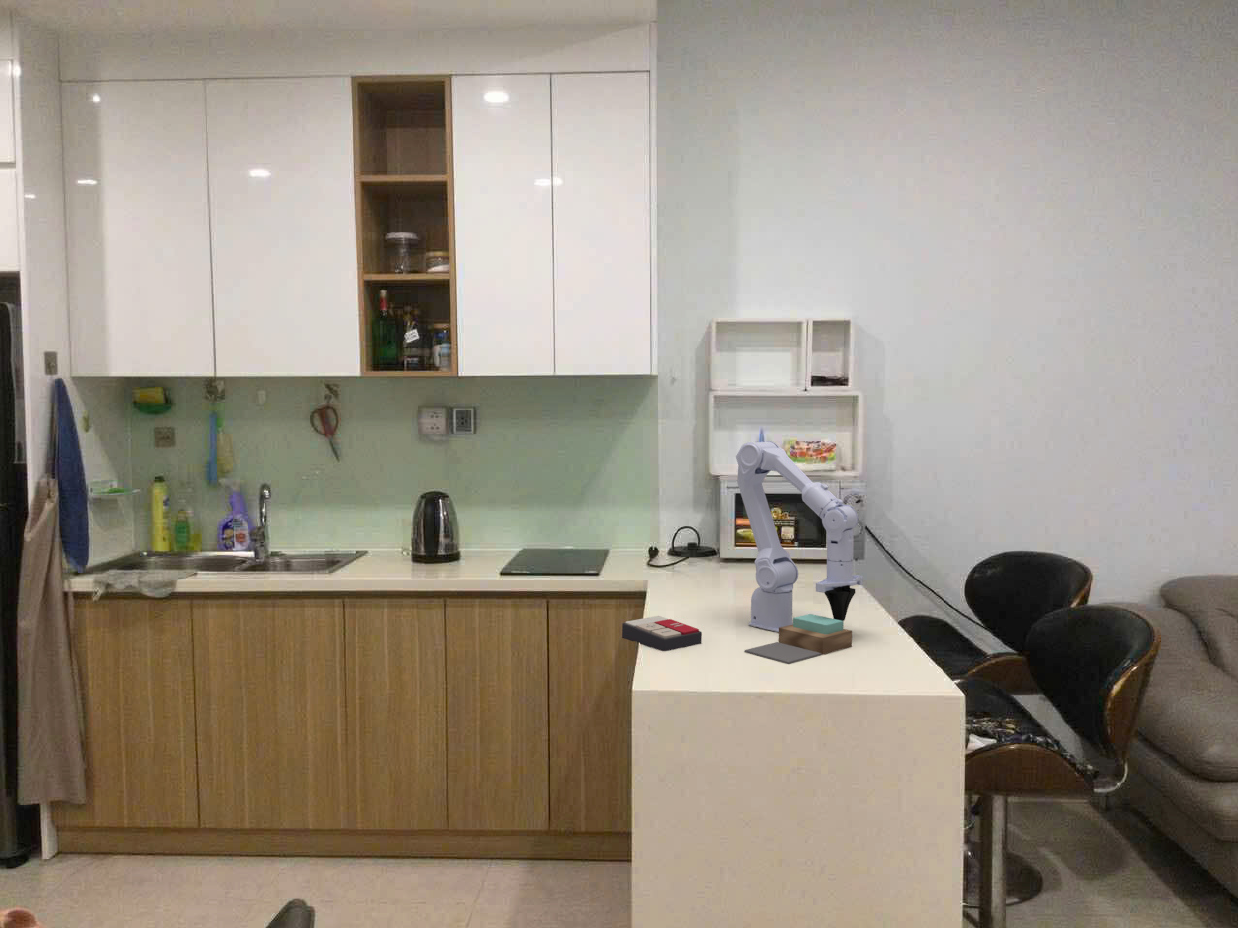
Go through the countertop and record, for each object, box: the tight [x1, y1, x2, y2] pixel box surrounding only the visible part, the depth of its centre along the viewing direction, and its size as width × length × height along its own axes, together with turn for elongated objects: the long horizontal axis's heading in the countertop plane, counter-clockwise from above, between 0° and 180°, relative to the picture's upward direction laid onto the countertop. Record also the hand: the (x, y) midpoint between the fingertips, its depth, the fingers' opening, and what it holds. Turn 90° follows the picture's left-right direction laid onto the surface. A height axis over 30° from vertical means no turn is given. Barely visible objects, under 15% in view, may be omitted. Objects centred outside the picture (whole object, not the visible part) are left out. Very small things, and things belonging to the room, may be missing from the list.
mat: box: [743, 641, 822, 665], centre depth 193 cm, size 12×10×1 cm
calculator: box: [621, 615, 703, 652], centre depth 204 cm, size 11×4×15 cm
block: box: [792, 613, 845, 634], centre depth 200 cm, size 9×6×2 cm, turn 40°
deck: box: [778, 624, 853, 656], centre depth 199 cm, size 12×10×4 cm
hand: (839, 620), depth 205 cm, fingers closed
